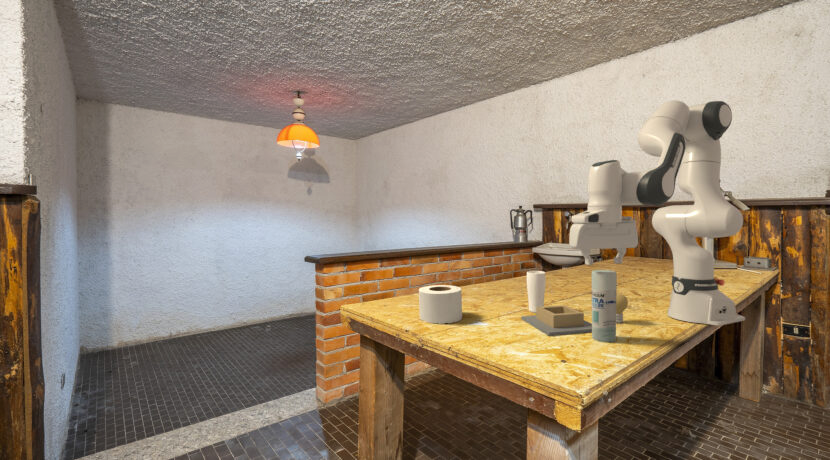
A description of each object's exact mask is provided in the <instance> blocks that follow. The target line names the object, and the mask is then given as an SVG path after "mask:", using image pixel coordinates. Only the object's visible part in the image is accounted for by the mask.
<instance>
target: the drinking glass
mask: <svg viewBox="0 0 830 460" xmlns="http://www.w3.org/2000/svg"><path fill="white" fill-rule="evenodd" d="M526 291H527V301H528V311H529V312H531V313H535V314H536V307H545V306H544V305H545V293H546V292H545V291H546V272H545V271H542V270H529V271H526Z"/></svg>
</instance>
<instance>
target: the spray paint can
mask: <svg viewBox="0 0 830 460" xmlns="http://www.w3.org/2000/svg"><path fill="white" fill-rule="evenodd" d="M617 279H618V278H617V271H614V270H610V269H594V270H592V271H591V323H592V332H591V336H592V339H593V341H597V342H602V343H614V342H616V339H617V323H616V293H617V286H618V285H617V282H618V280H617Z"/></svg>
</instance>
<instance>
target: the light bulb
mask: <svg viewBox="0 0 830 460" xmlns="http://www.w3.org/2000/svg"><path fill="white" fill-rule="evenodd" d="M628 304H629V301H628V298H627V297H626V296H625V294H623V293H620V292H616V324H622V323H623V322H624V313H623V312H624V311H626V309H627V307H628Z"/></svg>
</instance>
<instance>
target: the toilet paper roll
mask: <svg viewBox="0 0 830 460" xmlns="http://www.w3.org/2000/svg"><path fill="white" fill-rule="evenodd" d="M462 295H463V294H462V288H461V287H459V286H456V285H450V284H449V285H448V284H437V285H436V284H434V285H427V286H422V287H420V288H419V289H418V304H419V305H418V307H419V308H418V310H419V320H420V319H421V320H420V321H422V320H423V321H422V322H424V321H426V322H425V323H427V322H430V323H429V324H433V323H438V324H437V325H445V323H448V324H453V322H454V323H457V322H459V321H461V320H462V318H463V304H462V303H463V302H462V301H463V299H462V298H463V297H462Z"/></svg>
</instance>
